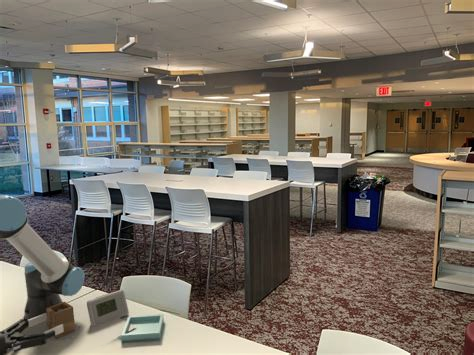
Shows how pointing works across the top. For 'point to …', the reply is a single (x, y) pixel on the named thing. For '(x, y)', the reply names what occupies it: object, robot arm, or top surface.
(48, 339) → the post base
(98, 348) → the top surface
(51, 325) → the wooden pen holder
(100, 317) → the digital clock
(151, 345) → the top surface
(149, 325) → the tray
